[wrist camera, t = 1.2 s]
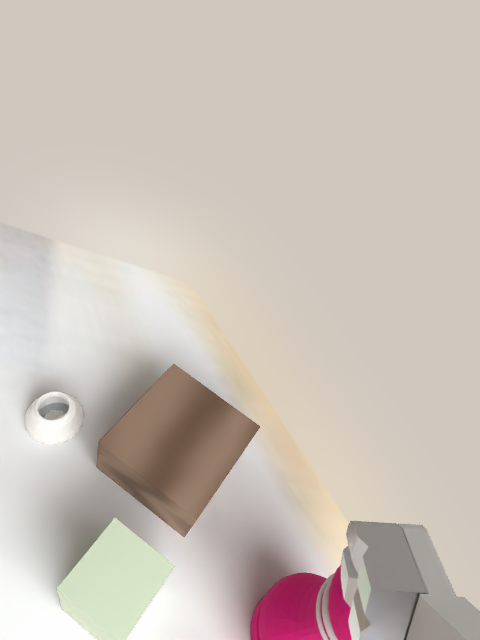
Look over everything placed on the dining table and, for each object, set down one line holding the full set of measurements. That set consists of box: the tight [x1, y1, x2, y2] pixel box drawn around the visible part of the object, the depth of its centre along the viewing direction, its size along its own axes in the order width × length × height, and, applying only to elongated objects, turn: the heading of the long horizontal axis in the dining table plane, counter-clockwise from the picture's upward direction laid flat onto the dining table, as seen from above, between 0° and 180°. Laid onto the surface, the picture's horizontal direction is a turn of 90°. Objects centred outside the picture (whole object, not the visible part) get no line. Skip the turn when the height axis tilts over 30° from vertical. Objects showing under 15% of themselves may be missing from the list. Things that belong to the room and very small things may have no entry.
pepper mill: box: [251, 565, 352, 640], centre depth 30 cm, size 7×7×20 cm
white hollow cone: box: [25, 391, 84, 444], centre depth 42 cm, size 5×3×5 cm
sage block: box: [57, 518, 175, 640], centre depth 32 cm, size 5×5×10 cm
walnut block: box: [97, 364, 260, 537], centre depth 42 cm, size 10×10×6 cm
